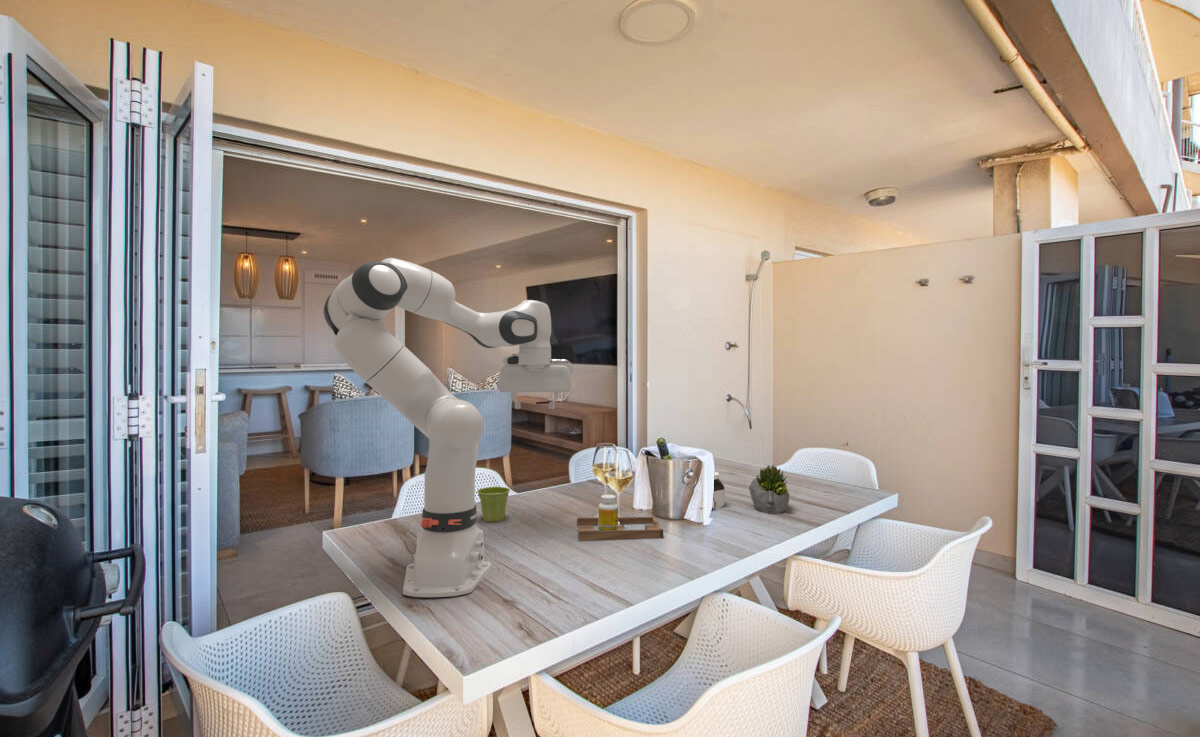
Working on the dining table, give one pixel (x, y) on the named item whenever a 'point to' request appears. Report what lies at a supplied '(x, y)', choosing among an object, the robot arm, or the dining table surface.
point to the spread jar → (718, 492)
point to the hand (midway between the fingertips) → (534, 408)
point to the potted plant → (769, 491)
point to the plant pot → (493, 502)
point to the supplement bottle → (607, 513)
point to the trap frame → (619, 529)
